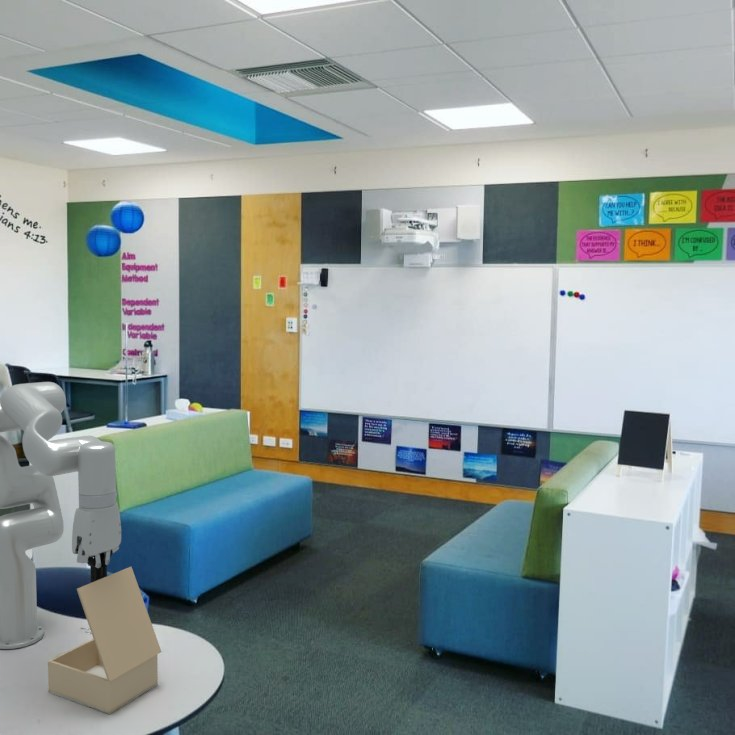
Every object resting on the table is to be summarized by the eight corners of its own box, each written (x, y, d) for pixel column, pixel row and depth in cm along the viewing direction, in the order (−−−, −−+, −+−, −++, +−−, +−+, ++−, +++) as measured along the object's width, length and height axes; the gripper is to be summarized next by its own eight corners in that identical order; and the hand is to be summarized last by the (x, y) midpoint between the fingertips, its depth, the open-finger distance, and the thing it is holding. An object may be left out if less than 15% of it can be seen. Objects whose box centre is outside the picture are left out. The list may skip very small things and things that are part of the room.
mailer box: (48, 692, 168) (47, 661, 168) (98, 665, 181) (98, 636, 180) (109, 714, 160) (109, 681, 159) (157, 684, 172) (157, 654, 172)
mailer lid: (76, 588, 161) (78, 588, 161) (129, 566, 174) (131, 566, 174) (108, 681, 159) (109, 681, 158) (160, 652, 172) (161, 652, 172)
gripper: (111, 490, 175) (112, 569, 177) (56, 505, 162) (58, 591, 164) (136, 494, 172) (137, 575, 173) (82, 510, 158) (84, 598, 160)
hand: (98, 583), depth 168 cm, fingers closed
